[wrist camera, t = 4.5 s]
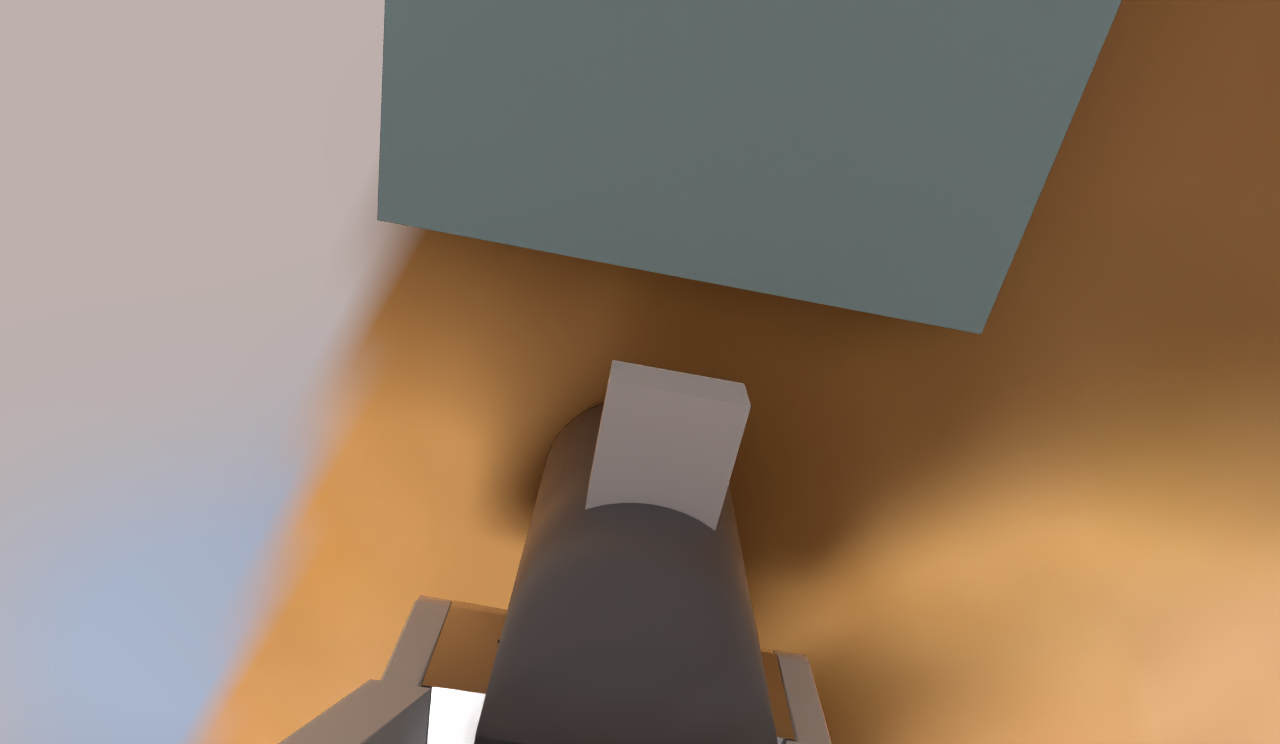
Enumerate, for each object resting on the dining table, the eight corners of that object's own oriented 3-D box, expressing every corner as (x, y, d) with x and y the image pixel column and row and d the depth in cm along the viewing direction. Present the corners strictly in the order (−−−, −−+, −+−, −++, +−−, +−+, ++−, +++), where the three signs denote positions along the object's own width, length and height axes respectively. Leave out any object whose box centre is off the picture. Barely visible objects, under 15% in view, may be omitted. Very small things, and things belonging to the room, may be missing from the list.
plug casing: (771, 329, 10) (868, 540, 6) (654, 737, 14) (657, 1067, 9) (572, 291, 10) (509, 481, 6) (506, 715, 14) (434, 1041, 9)
